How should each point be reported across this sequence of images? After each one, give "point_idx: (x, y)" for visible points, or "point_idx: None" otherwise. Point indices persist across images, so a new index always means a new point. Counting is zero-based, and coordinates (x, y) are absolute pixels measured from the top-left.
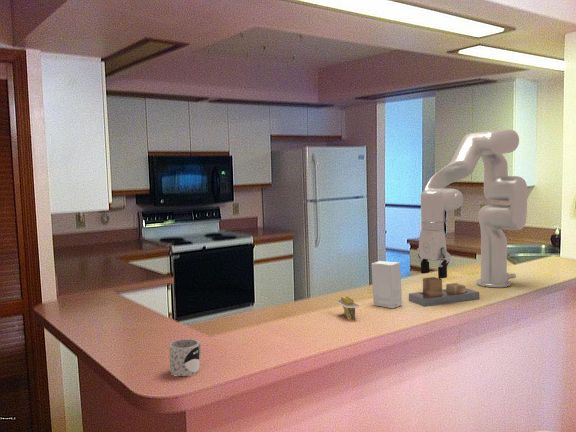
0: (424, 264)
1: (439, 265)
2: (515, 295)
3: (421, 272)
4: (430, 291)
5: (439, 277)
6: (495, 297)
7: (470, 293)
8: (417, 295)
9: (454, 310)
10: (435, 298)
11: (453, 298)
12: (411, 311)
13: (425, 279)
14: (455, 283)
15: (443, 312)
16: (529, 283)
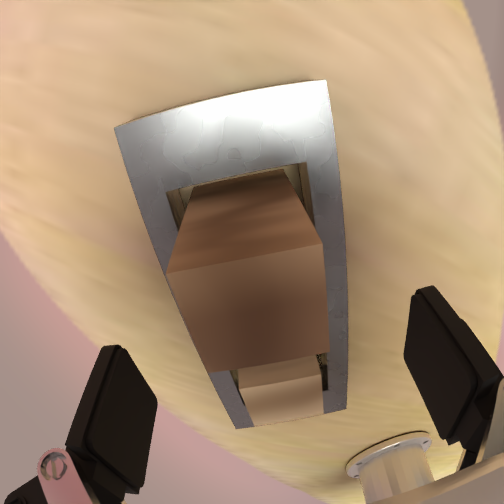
0: (452, 388)
1: (67, 466)
2: (256, 466)
3: (426, 290)
4: (187, 218)
5: (102, 352)
6: (247, 438)
7: (223, 404)
8: (240, 116)
9: (43, 249)
10: (145, 218)
11: None
12: (45, 20)
13: (268, 250)
14: (315, 408)
15: (10, 185)
16: (352, 487)
